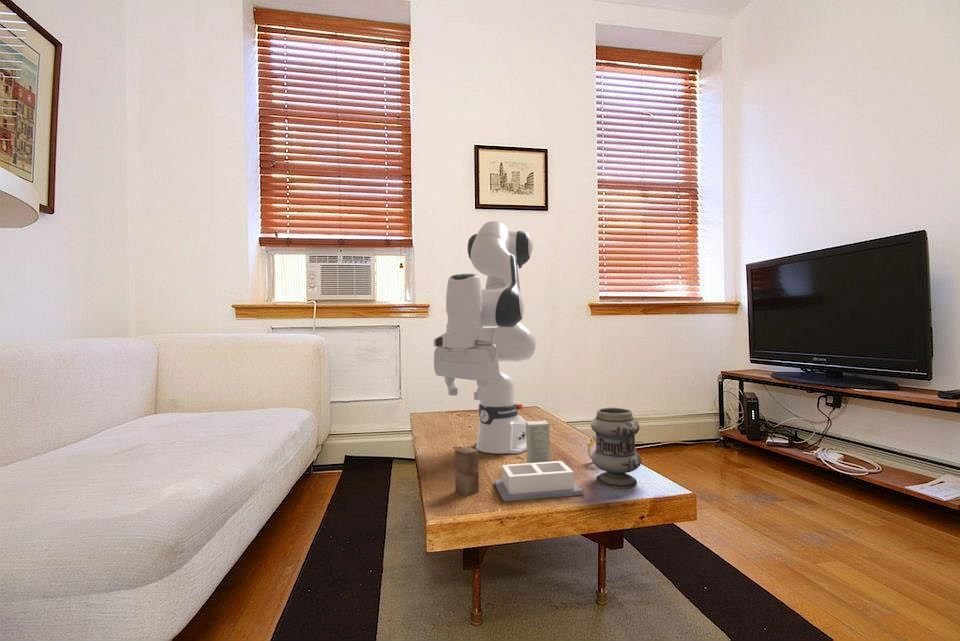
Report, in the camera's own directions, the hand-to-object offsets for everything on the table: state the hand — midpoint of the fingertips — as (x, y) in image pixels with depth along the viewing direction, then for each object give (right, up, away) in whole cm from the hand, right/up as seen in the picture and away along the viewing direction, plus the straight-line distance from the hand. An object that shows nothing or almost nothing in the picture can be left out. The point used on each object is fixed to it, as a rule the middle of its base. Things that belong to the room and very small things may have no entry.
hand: (465, 397), depth 103 cm
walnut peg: (0, -23, 0) cm, 23 cm away
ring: (+38, -22, +20) cm, 48 cm away
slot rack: (+17, -22, +1) cm, 28 cm away
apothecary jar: (+38, -22, +5) cm, 44 cm away
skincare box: (+20, -23, +18) cm, 35 cm away
